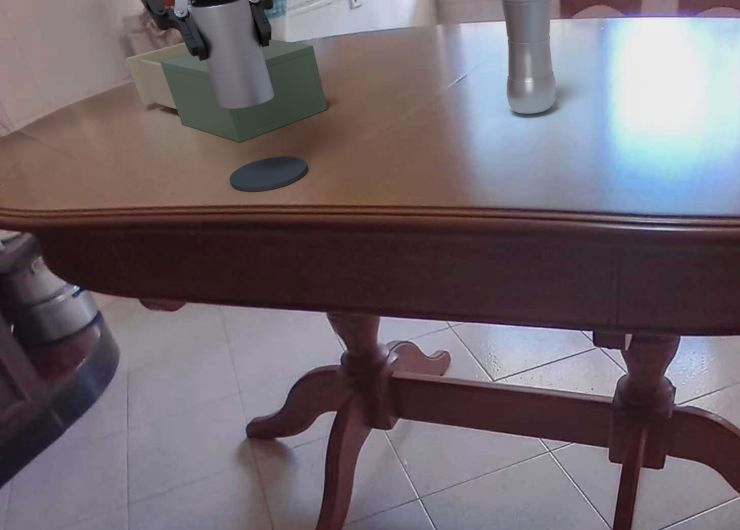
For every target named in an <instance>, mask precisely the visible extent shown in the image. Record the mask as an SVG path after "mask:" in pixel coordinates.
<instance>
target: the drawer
mask: <svg viewBox="0 0 740 530" xmlns="http://www.w3.org/2000/svg"><path fill="white" fill-rule="evenodd" d="M186 54H189V51H188V49H187V47H186V44H185V42H184V41H183V42H180V43H176V44H173V45H168V46H166V47H162V48H159V49H155V50H151V51H150V50H149V51H147V52H143V53H139V54H136V55H131V56H129V57H125V58H124V59H125V62H126V64H127V67H128V70H129V72H130V75H131V78H132V80H133V83H134V86H135V88H136V91H137V93H138V97H139V99H140V101H141V104H142V105H144V106H149V105H151V104H158V105H160V106H161V105H162V106H165V107H167V108H172V109H175V110H177V108H176V106H175V103H174V100H173V97H172V94H171V92H170V89H169V86H168V83H167V80H166V78H165V75H164V72H163V68H162V66H161V64H160V62H161V61H164V60H168V59H171V58H175V57H179V56H182V55H186Z"/></svg>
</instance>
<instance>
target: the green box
mask: <svg viewBox="0 0 740 530" xmlns="http://www.w3.org/2000/svg"><path fill="white" fill-rule="evenodd" d="M261 48H262V52H263V55H264V59H265V63H266V66H267V70H268V73H269V77H270V81H271V84H272V88H273V92H274V97H273V98H272V99H271V100H269V101H267V102H265V103H262V104H259V105H256V106H252V107H247V108H240V109H226V108H222V107H220V106H219V103H218V99H217V96H216V93H215V90H214V87H213V84H212V81H211V78H210V75H209V72H208V68H207V65H206V62H205V60H202V61H200V60H199V58H198V56H194V57H193V56H192V55H191V54H190V53H189V54H186V55H182V56H179V57H175V58H171V59H168V60H164V61H161V62H160V64H161V66H162V68H163V72H164V75H165V78H166V80H167V83H168V86H169V89H170V92H171V94H172V97H173V100H174V103H175V106H176V108H177V109H176V112H177V114H178V117H179V120H180V122H181V125H182V126H185V127H186V126H187V127H190V128H193V129H196V130H199V131H202V132H205V133H208V134H210V135H211V134H212V135H214V136H218V137H221V138H224V139H227V140H230V141H234V142H236V143H242V142H245V141H247V140H251V139H254V138H255V137H258V136H260V135H263V134H266V133H269V132H272V131H274V130H276V129H280V128H282V127H285V126H288V125H290V124H292V123H295V122H299V121H300V120H303V119H306V118H309V117H311V116H313V115H317V114H320V113H322V112H324V111H327V110H328V106H327V103H326V102H327V101H326V98H325V93H324V89H323V85H322V84H323V83H322V80H321V75H320V71H319V67H318V62H317V57H316V54H315V48H314V45H311V44H305V43H298V42H292V41H286V40H279V39H272V38H271V40H269V46H266V47H262V46H261Z"/></svg>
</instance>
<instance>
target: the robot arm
mask: <svg viewBox="0 0 740 530" xmlns="http://www.w3.org/2000/svg"><path fill="white" fill-rule="evenodd" d="M196 1H200V0H174V8H167V7H166V6H165V4H164V3H163V1H162V0H140V2H141V3H142V5H143V7H144V8H145V10H146V11H147V13H148V14H149V16H150V18H151V19H152V21H153V22H154V24H155V25H156V27H157V29H159V30H160V31H168V30H169V29H174V30H177V32H179V33H180V36H181V38H182V40H183V42H185V44H186V47H187V49H188V51H189V53H190V54H191V55H192V56H193V57H194V56H198V58H199V60H200V61H202V60H207V55H206V49H205V46H204V44H203V41H202V39H201V37H200V35H199V33H198V30H197V28H196V26H195V24H194V22H193V20H192V18H191V16H190V13H189V10H188V5H189V4H191V3H193V2H196ZM249 4H250V8H251V11H252V15H253V19H254V22H255V26H256V30H257V33H258V37H259V41H260V44H261V46H262V47H266V46H269V40H271V39H272V25H271V23H270V20H269V19H268V16H267V14H266V12H265V10H266V11H267V10H268V11H269V10H272V9H274V0H249Z"/></svg>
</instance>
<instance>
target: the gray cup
mask: <svg viewBox="0 0 740 530" xmlns="http://www.w3.org/2000/svg"><path fill="white" fill-rule="evenodd" d="M188 10H189V13H190V16H191V18H192V20H193V22H194V24H195V26H196V28H197V30H198V33H199V35H200V37H201V39H202V41H203V44H204V46H205V49H206V55H207V60H205V62H206V65H207V68H208V72H209V75H210V78H211V81H212V84H213V87H214V90H215V93H216V96H217V99H218V103H219V106H220V107H222V108H226V109H240V108H247V107H252V106H256V105H259V104H262V103H265V102H267V101H269V100H271V99H272V98H273V97H274V92H273V88H272V84H271V81H270V77H269V73H268V70H267V66H266V63H265V59H264V55H263V52H262V48H261V44H260V41H259V37H258V33H257V30H256V26H255V22H254V19H253V15H252V11H251V8H250V4H249V0H200V1H196V2H195V1H193V3H191V4H189V5H188Z"/></svg>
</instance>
